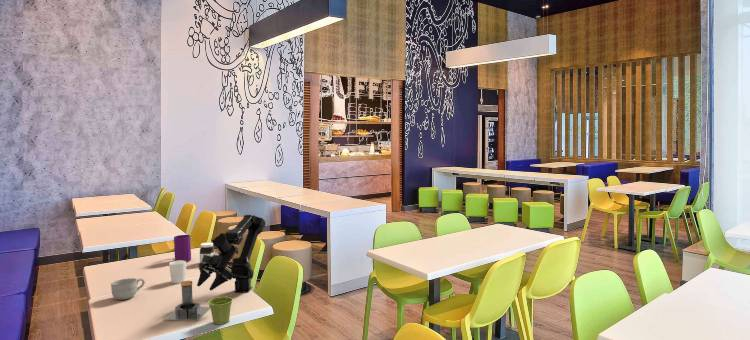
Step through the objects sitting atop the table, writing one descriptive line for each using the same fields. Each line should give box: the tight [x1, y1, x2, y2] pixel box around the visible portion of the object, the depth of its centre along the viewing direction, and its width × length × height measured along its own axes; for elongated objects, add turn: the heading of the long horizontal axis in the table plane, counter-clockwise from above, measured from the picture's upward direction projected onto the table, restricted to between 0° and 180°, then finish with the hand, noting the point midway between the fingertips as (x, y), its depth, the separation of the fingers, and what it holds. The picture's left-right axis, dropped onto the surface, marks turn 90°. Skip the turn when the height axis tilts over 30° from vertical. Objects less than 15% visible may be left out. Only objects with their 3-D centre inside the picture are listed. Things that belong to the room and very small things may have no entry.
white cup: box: [168, 260, 187, 284], centre depth 241 cm, size 8×8×10 cm
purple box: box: [173, 234, 192, 263], centre depth 284 cm, size 9×16×15 cm, turn 34°
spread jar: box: [199, 242, 219, 264], centre depth 274 cm, size 12×11×12 cm
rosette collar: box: [162, 301, 211, 322], centre depth 197 cm, size 14×14×4 cm
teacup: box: [110, 277, 146, 301], centre depth 219 cm, size 14×11×8 cm
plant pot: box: [207, 296, 234, 325], centre depth 188 cm, size 9×9×9 cm
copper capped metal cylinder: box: [180, 280, 194, 309], centre depth 197 cm, size 4×4×13 cm
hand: (203, 288), depth 203 cm, fingers open, 9 cm apart
